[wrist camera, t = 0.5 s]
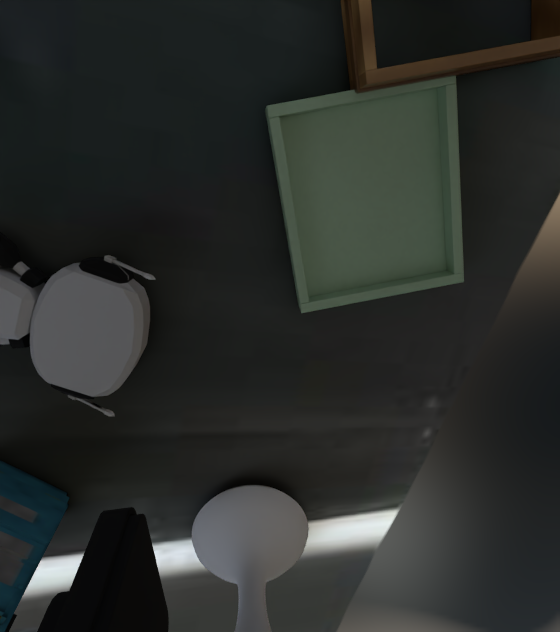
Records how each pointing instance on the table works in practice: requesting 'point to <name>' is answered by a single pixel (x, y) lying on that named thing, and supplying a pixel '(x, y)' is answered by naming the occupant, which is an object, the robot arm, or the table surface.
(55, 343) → the robot toy
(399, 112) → the tray
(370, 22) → the brown rectangular frame
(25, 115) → the table surface
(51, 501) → the blue yellow box
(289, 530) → the flower in vase
